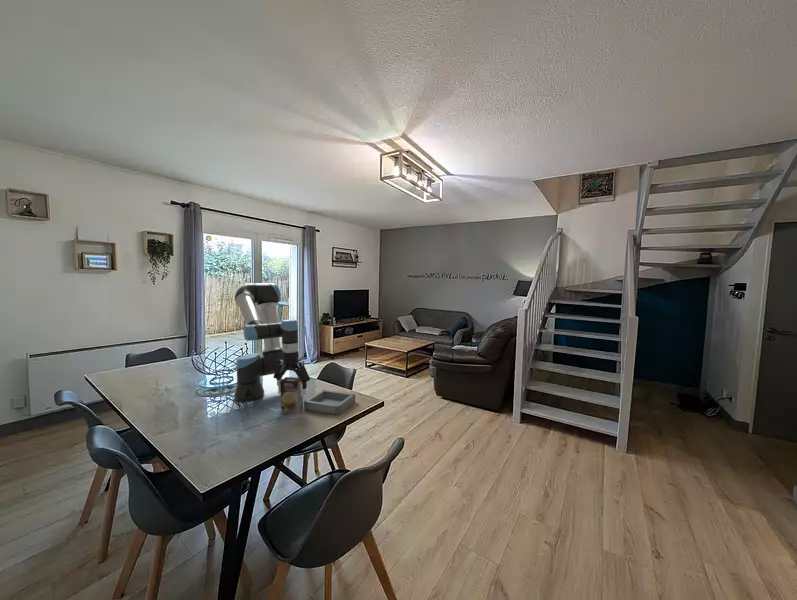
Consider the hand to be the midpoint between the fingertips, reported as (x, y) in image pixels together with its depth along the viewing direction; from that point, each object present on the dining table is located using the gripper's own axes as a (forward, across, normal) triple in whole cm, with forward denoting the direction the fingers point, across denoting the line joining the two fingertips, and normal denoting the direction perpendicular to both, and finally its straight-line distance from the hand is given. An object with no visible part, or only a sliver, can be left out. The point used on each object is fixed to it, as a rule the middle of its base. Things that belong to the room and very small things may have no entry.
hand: (292, 393), depth 151 cm
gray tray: (+9, +15, +11) cm, 20 cm away
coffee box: (+9, 0, 0) cm, 9 cm away
